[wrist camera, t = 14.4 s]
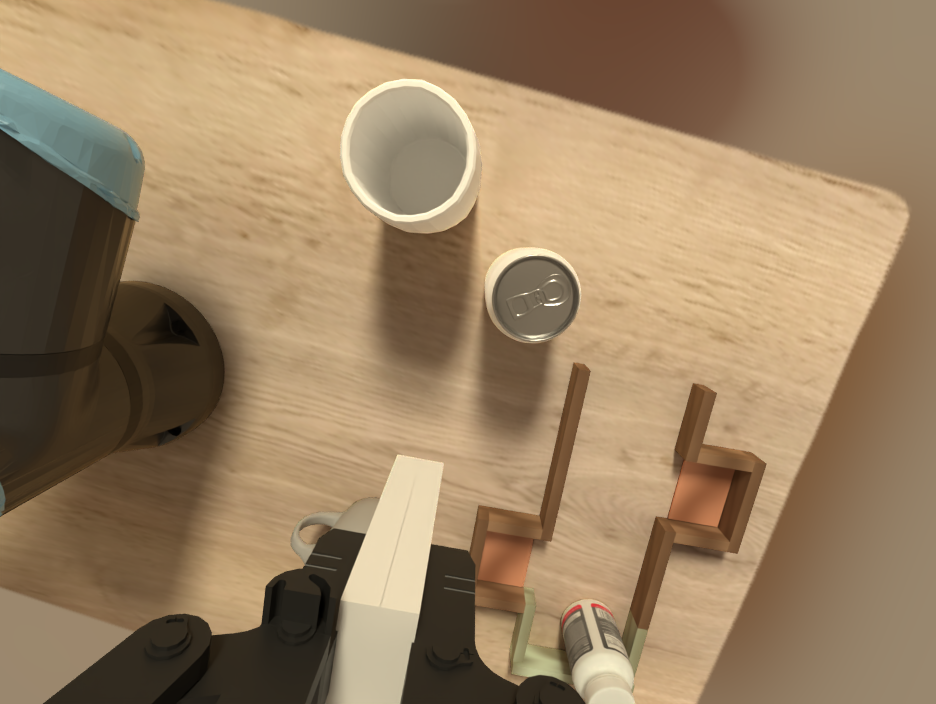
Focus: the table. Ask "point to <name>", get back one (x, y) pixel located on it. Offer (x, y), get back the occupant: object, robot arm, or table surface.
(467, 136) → the cup
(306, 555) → the cup
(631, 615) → the trap lane
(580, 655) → the pill bottle
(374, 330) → the table surface
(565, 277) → the can
